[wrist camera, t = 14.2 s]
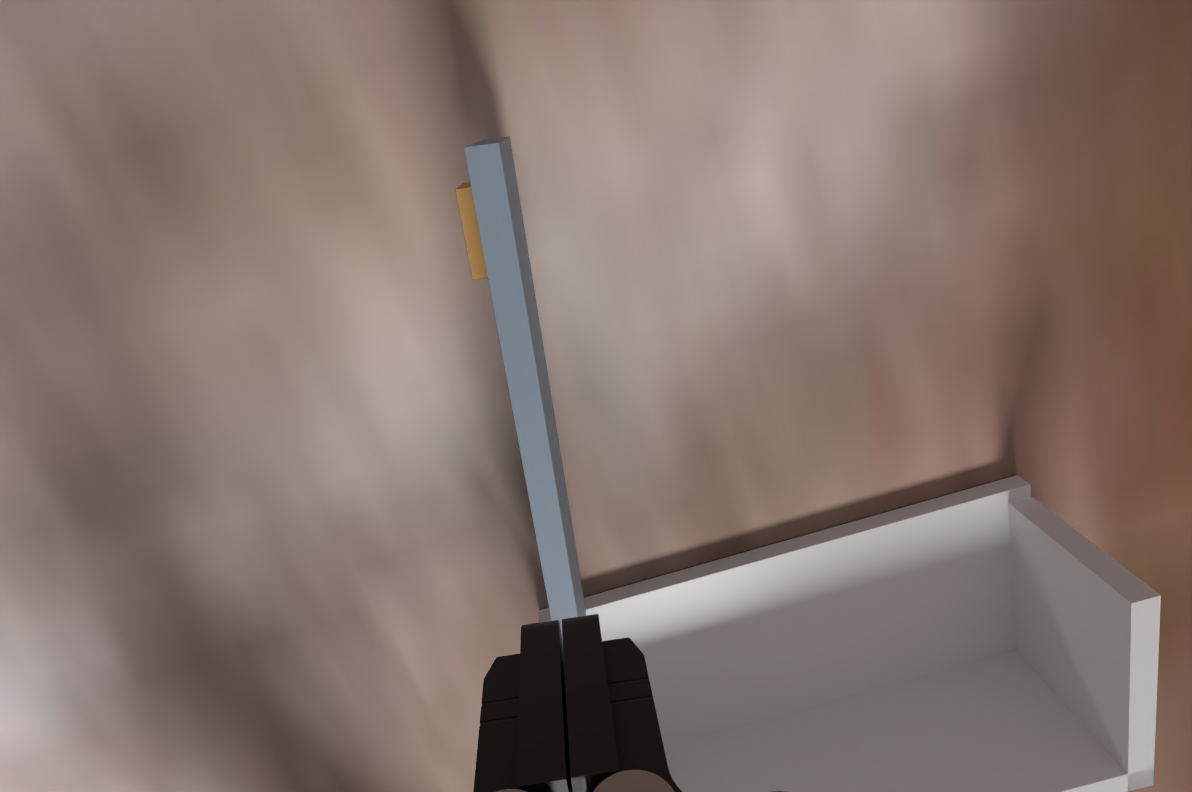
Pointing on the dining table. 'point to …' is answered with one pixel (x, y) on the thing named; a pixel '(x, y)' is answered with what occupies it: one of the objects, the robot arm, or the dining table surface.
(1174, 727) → the dining table surface
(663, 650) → the case
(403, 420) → the dining table surface
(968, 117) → the dining table surface
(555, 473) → the door
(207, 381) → the dining table surface
